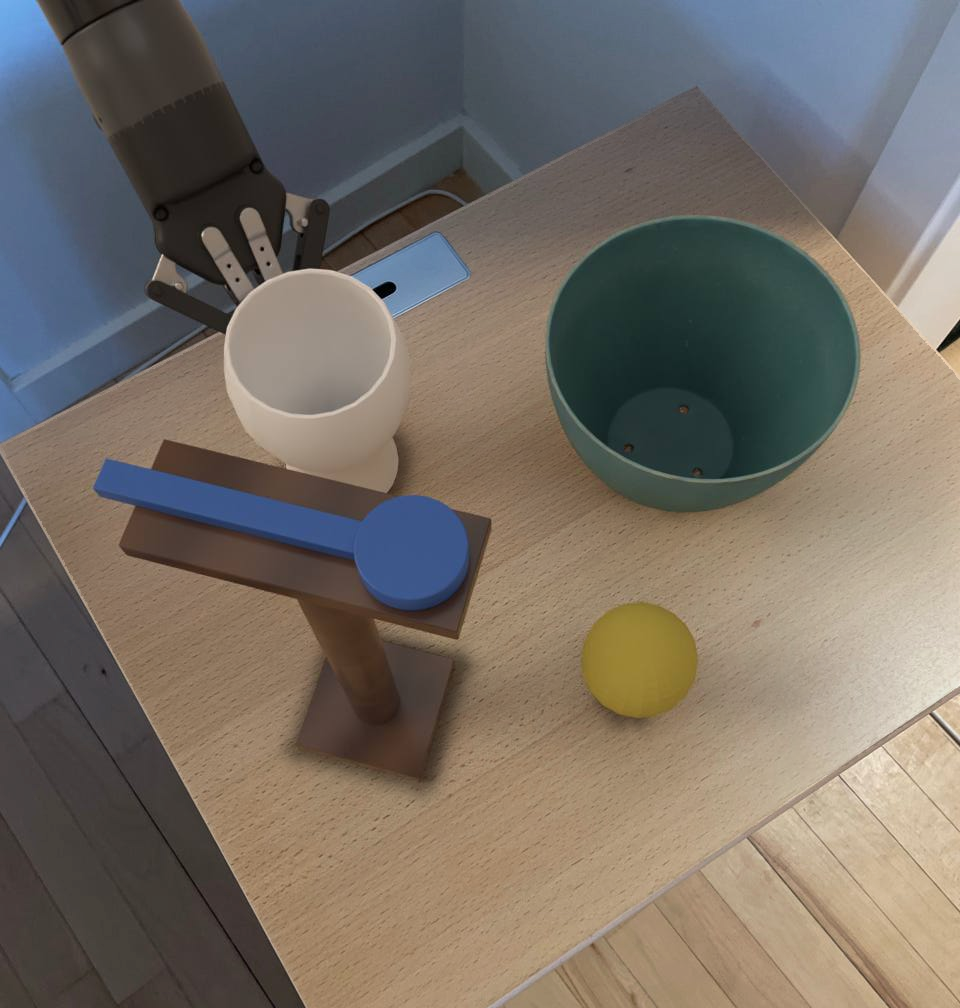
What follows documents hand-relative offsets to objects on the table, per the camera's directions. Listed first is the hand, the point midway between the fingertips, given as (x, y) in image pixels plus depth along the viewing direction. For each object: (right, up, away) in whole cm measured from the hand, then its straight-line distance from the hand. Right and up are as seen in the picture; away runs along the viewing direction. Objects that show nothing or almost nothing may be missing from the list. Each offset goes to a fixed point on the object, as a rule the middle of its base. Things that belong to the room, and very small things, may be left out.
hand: (304, 379), depth 67 cm
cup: (+2, -5, +4) cm, 7 cm away
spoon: (+5, -13, -26) cm, 30 cm away
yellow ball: (+21, -21, -2) cm, 29 cm away
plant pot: (+25, -4, +4) cm, 25 cm away
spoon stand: (+5, -21, -2) cm, 22 cm away
